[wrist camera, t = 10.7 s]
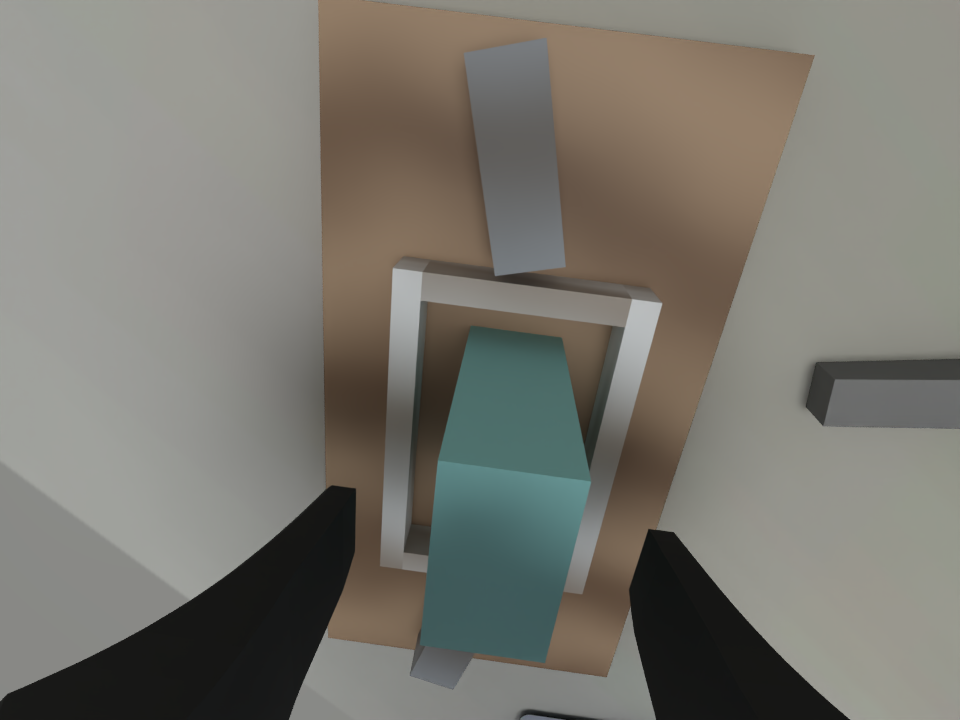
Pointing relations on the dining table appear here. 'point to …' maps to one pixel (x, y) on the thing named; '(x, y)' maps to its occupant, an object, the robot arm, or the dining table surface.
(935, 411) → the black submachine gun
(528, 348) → the block
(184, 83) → the dining table surface
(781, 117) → the board
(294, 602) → the robot arm
